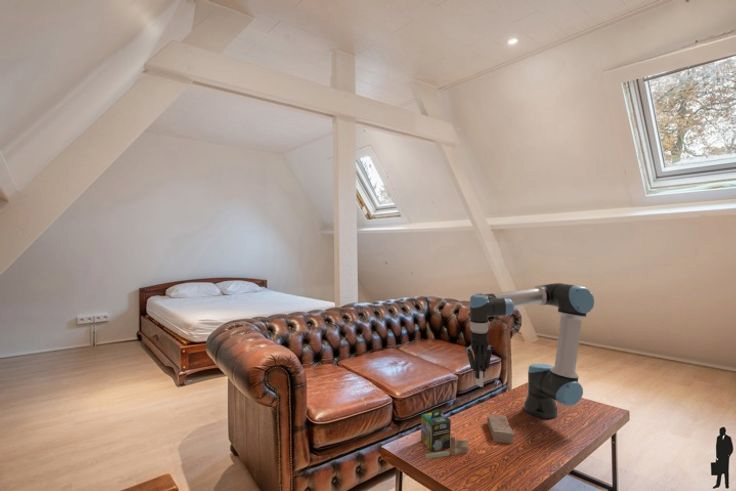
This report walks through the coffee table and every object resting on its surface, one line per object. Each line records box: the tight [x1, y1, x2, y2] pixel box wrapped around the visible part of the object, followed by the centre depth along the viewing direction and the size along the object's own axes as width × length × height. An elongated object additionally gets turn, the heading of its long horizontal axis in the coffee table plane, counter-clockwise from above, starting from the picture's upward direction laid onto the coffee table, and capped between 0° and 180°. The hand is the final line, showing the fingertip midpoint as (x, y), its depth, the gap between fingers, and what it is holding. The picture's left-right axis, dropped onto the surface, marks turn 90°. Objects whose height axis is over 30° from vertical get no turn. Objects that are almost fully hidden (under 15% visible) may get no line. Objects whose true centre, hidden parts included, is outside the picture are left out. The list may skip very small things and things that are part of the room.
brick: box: [486, 414, 515, 444], centre depth 163 cm, size 17×8×5 cm, turn 172°
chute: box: [450, 436, 469, 456], centre depth 154 cm, size 7×17×6 cm, turn 15°
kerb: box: [424, 450, 451, 459], centre depth 144 cm, size 10×1×1 cm, turn 105°
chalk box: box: [420, 408, 452, 453], centre depth 152 cm, size 9×9×15 cm
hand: (479, 385), depth 160 cm, fingers closed
